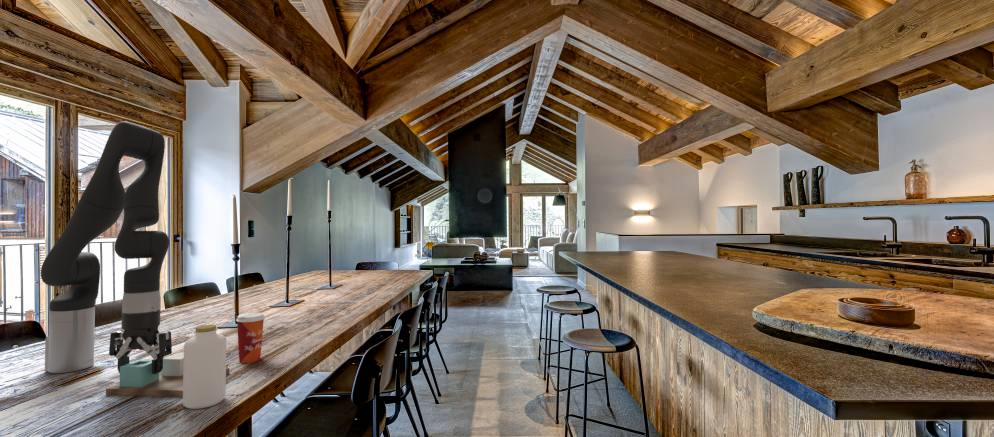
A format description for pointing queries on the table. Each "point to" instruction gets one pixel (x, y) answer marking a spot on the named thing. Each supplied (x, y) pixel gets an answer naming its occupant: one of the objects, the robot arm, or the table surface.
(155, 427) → the table surface
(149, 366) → the teal boxy piece
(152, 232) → the robot arm
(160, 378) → the pin base
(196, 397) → the white plastic bottle
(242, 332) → the paper cup
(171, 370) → the block
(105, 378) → the table surface
